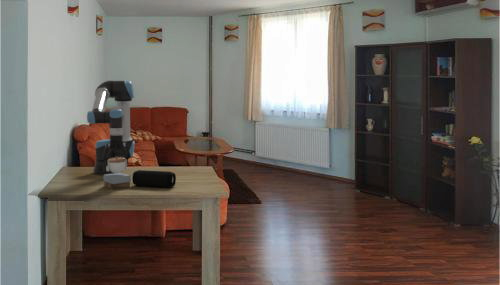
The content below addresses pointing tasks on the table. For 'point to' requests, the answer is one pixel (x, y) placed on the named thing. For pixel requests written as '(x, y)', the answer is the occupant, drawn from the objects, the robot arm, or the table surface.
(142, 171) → the portable speaker
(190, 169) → the table surface
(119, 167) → the lidded jar
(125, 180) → the tower top
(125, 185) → the tower base
